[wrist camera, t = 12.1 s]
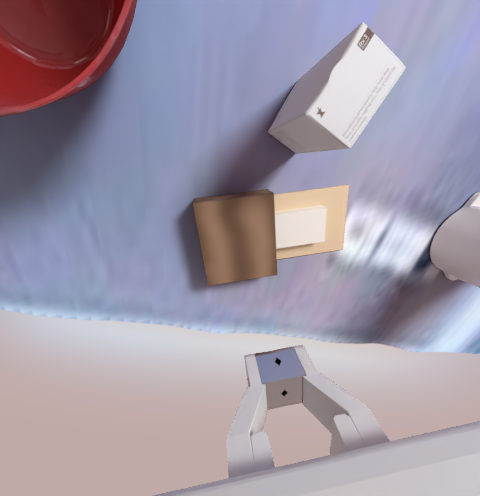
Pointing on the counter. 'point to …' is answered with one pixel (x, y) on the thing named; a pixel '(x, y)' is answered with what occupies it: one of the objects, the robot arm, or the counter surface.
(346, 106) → the skincare box
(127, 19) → the mixing bowl
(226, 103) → the counter surface
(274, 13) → the counter surface
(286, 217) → the white rectangular prism
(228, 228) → the brown box
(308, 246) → the mat
